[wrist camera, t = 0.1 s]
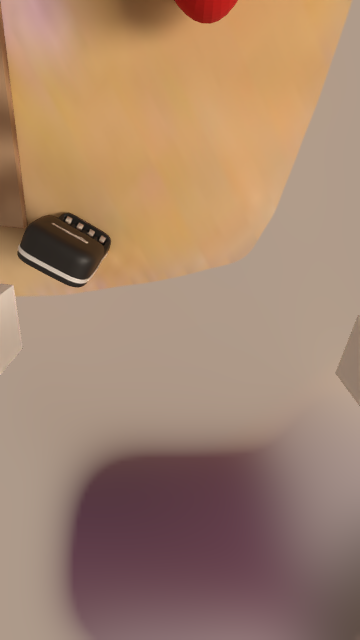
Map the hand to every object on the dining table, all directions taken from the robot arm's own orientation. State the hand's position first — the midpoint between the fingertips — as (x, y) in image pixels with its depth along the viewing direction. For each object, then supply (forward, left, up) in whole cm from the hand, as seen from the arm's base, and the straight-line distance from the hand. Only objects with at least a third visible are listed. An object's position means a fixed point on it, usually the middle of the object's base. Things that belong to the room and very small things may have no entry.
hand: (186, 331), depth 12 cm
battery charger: (+3, -11, -28) cm, 31 cm away
